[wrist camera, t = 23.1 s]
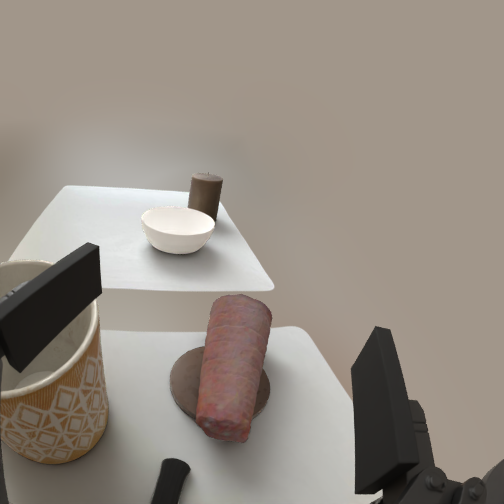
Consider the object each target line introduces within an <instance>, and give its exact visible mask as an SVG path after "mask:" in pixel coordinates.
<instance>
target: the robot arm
mask: <svg viewBox="0 0 504 504" xmlns="http://www.w3.org/2000/svg"><path fill="white" fill-rule="evenodd" d="M100 294H102V286H101V273H100V254H99V246H97V245H94V244H91V243H88V242H87V243H86V244H84V245H83V246H81V247H79V248H78V249H76V250H75V251H73V252H72V253H70V254H69V255H67V256H66V257H64V258H63V259H61V260H60V261H58V262H57V263H55V264H54V265H52V266H51V267H49V268H48V269H46V270H45V271H44V272H42V273H41V274H39V275H38V276H36V277H35V278H34V279H32V280H29V281H26V282H24V283H21V284H19V285H18V286H16V287H15V288H14V289H12V291H10V292H8V293H7V294H6V296H3V297H2V298H0V404H1V383H2V371H3V361H2V359H1V358H2V357H3V356H4V355H5V356H6V359H7V361H8V363H9V365H10V366H12V367H13V368H14V369H15V370H17V371H18V372H19V373H21V372H22V371H23V370H24V369H25V368H26V367H27V366H28V365H29V364H30V363H31V362H32V361H33V360H34V359H35V358H36V357H37V355H38V354H39V353H40V352H41V351H42V350H43V349H44V348H45V347H46V346H47V345H48V344H49V343H50V342H51V341H52V340H53V339H54V338H55V337H56V336H57V335H58V334H59V333H60V332H61V331H62V330H63V329H64V328H65V327H66V326H67V325H68V324H70V323H71V322H72V321H73V320H74V319H75V318H76V317H77V316H78V315H79V314H80V313H81V312H82V311H83V310H84V309H85V308H86V307H87V306H88V305H90V304H91V303H92V302H93V301H94V300H95V299H96V298H97V297H98V296H99V295H100ZM351 377H352V390H353V407H354V429H355V494H375V493H377V492H378V491H380V490H381V489H383V496H382V497H380V498H378V499H377V500H375V501H373V502H371V503H370V504H485V502H486V497H487V488H486V485H485V483H484V482H483V480H481V479H480V478H477V477H473V478H470V479H468V480H467V481H466V482H464V483H460V482H455V481H452V480H448V479H447V477H446V475H445V473H444V472H443V471H442V470H441V469H440V468H437V467H435V464H434V458H433V453H432V448H431V442H430V437H429V433H428V428H427V424H426V419H425V414H424V411H423V409H422V408H421V406H420V404H419V403H418V401H416V400H408V395H407V391H406V387H405V383H404V378H403V374H402V370H401V366H400V363H399V359H398V355H397V352H396V348H395V344H394V341H393V337H392V334H391V331H390V329H386V328H381V327H377V326H375V328H374V330H373V331H372V333H371V335H370V337H369V339H368V340H367V342H366V344H365V346H364V348H363V349H362V351H361V353H360V354H359V356H358V358H357V359H356V361H355V363H354V364H353V366H352V368H351ZM0 504H9V502H8V497H7V491H6V485H5V478H4V470H3V461H2V449H1V429H0Z"/></svg>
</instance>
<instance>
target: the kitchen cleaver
mask: <svg viewBox="0 0 504 504" xmlns="http://www.w3.org/2000/svg"><path fill="white" fill-rule="evenodd" d="M190 470H191V469H190V467H189V465H188V464H187V463H185V462H183V461H181V460H178V459H174V458H169V459H165V460H163V461H162V464H161V468H160V473H159V476H158V479H157V483H156V486H155V490H154V493H153V497H152V500H151V504H178V502H179V499H180V495H181V491H182V488H183V485H184V482H185V479H186V478H187V476H188V474H189V473H190Z"/></svg>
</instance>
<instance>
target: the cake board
mask: <svg viewBox="0 0 504 504" xmlns="http://www.w3.org/2000/svg"><path fill="white" fill-rule="evenodd" d="M204 350H205V346H204V347H199V348H195V349H193V350H190V351H188V352H186V353H185V354H183V355H182V356H181V357H180V358H179V359H178V360H177V361H176V362H175V364H174V366H173V368H172V370H171V375H170V388H171V392H172V395H173V397H174V399H175V401H176V403H177V404H178V405H179V407H180V408H181V409H182V410H183V411H184V412H185V413H187V414H188V415H189V416H191V417H192V418H194V419H196V409H197V403H198V397H199V386H200V373H201V367H202V360H203V353H204ZM269 394H270V384H269V380H268V377H267V375H266V373H265V371H264V370H263V368H262V373H261V376H260V382H259V388H258V391H257V396H256V402H255V406H254V412H253V415H252V419H253V418H255V417H256V416H257V415H258V414H259V413H260V412H261V411H262V410H263V408H264V407H265V405H266V403H267V400H268V398H269Z"/></svg>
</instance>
